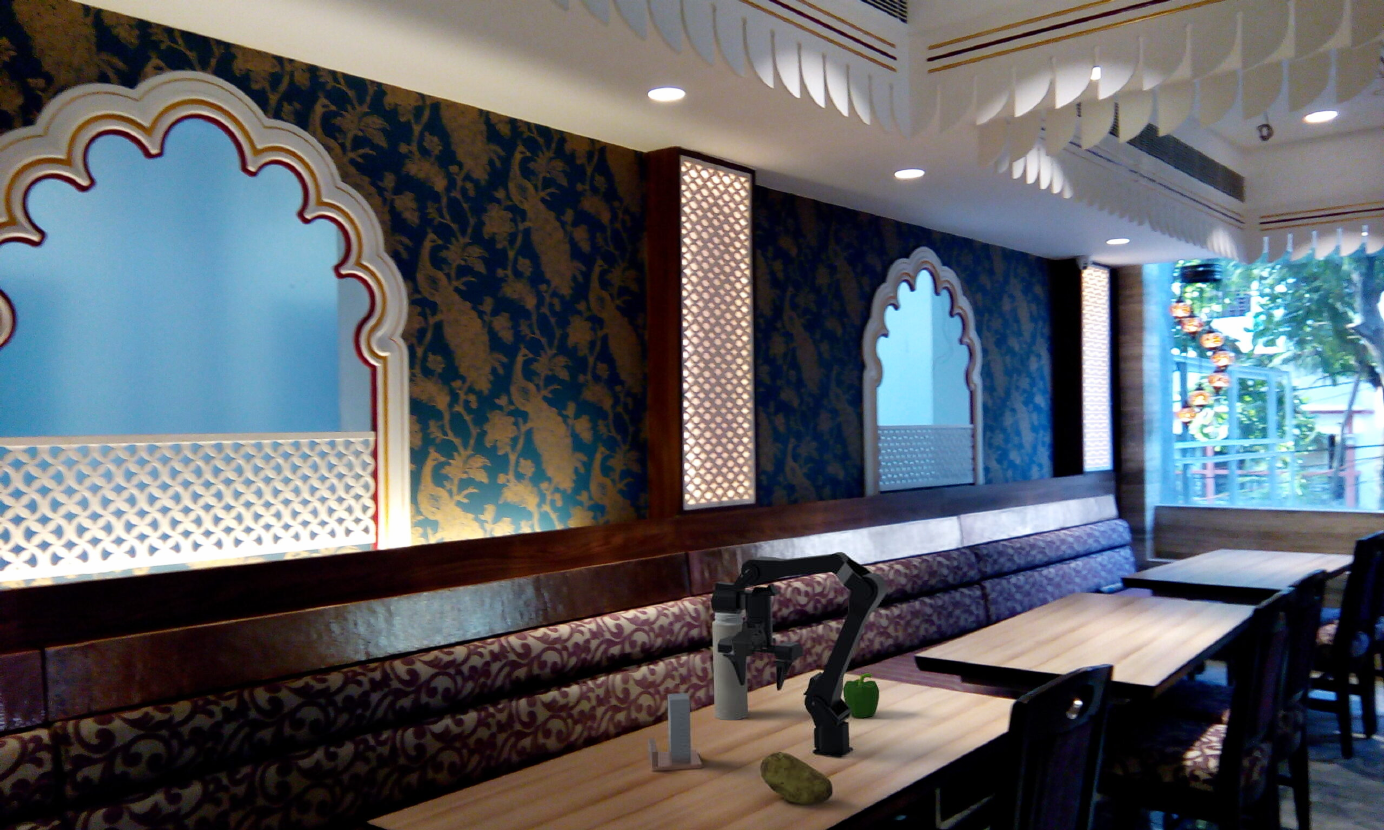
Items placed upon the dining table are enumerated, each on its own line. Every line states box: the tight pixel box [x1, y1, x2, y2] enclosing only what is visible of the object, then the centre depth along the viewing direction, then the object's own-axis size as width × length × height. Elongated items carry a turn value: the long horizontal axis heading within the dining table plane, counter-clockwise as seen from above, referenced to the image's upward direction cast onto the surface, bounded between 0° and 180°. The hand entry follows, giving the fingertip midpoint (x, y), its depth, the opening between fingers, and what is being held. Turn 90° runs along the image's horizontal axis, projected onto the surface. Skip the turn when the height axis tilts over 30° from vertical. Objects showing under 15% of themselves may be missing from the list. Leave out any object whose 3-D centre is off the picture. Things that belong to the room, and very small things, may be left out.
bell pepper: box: [842, 672, 880, 719], centre depth 240 cm, size 8×8×10 cm
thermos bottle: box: [711, 611, 749, 721], centre depth 243 cm, size 8×8×28 cm
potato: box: [759, 751, 833, 805], centre depth 184 cm, size 8×13×8 cm, turn 47°
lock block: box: [667, 692, 692, 762], centre depth 209 cm, size 4×5×12 cm
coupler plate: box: [647, 737, 703, 772], centre depth 208 cm, size 10×10×4 cm
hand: (760, 687), depth 220 cm, fingers open, 9 cm apart
